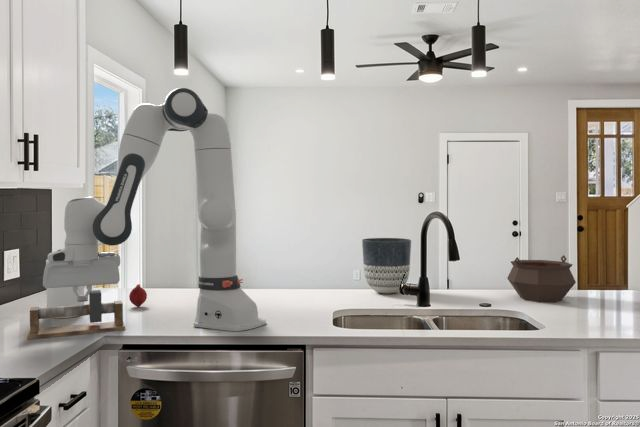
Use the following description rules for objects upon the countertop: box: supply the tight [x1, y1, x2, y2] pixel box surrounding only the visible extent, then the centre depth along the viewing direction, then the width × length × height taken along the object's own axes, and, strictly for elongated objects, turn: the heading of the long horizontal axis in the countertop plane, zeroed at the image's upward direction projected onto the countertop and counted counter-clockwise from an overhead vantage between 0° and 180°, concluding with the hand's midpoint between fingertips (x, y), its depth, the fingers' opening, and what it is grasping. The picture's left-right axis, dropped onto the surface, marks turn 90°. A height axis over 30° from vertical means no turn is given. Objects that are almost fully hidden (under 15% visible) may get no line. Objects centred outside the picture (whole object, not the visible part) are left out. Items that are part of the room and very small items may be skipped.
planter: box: [361, 237, 412, 295], centre depth 219 cm, size 20×20×21 cm
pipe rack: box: [27, 300, 126, 340], centre depth 157 cm, size 25×8×8 cm, turn 115°
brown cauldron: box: [506, 254, 577, 303], centre depth 205 cm, size 24×24×16 cm
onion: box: [128, 283, 148, 308], centre depth 192 cm, size 6×6×8 cm
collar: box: [88, 289, 103, 323], centre depth 159 cm, size 3×6×8 cm, turn 25°
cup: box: [45, 259, 85, 320], centre depth 179 cm, size 11×11×18 cm
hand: (82, 301), depth 157 cm, fingers closed
